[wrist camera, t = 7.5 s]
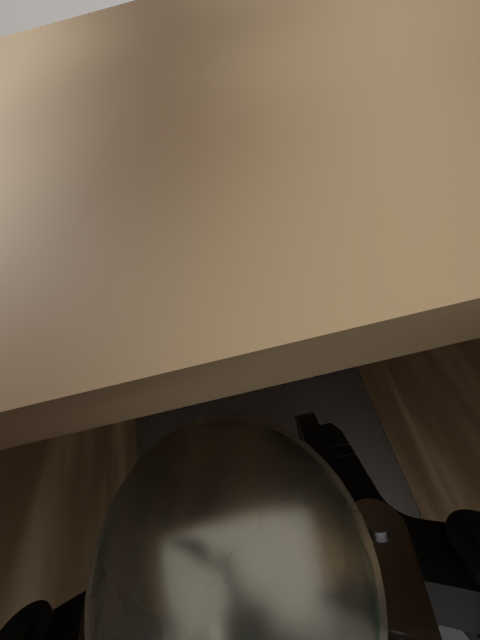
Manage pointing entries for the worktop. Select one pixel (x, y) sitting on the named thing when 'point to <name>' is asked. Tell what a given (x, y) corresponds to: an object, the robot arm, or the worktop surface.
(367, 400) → the worktop surface
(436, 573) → the robot arm
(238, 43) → the cubby
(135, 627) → the clear drinking glass
